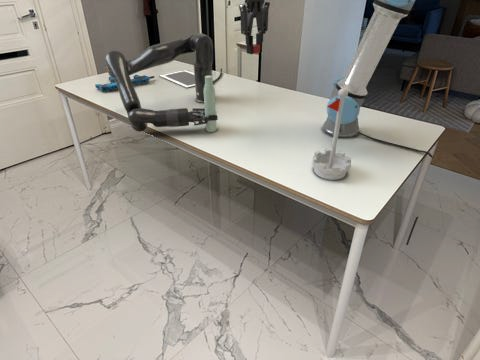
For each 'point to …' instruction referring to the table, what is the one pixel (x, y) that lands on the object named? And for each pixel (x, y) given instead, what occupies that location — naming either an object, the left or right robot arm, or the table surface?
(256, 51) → the cap
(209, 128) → the bottle
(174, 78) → the tablet
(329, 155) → the flag stand
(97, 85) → the submachine gun
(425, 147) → the table surface
